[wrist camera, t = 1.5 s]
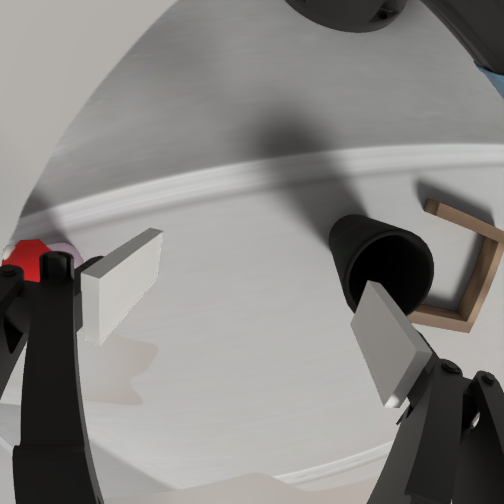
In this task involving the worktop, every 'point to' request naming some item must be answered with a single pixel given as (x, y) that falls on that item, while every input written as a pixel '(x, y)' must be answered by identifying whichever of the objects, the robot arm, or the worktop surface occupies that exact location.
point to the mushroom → (35, 256)
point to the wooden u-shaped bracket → (479, 280)
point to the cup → (381, 261)
